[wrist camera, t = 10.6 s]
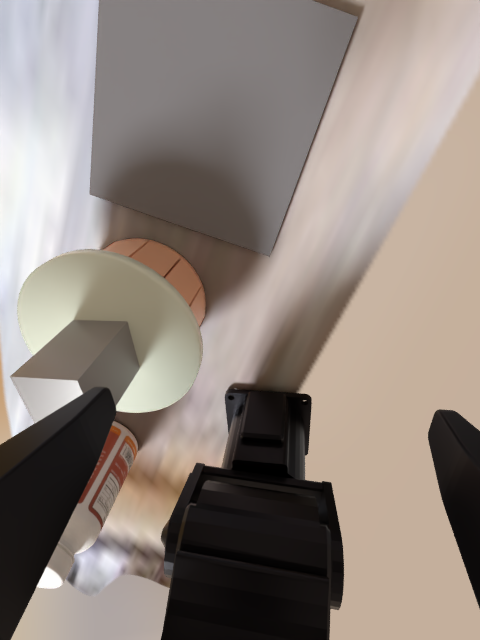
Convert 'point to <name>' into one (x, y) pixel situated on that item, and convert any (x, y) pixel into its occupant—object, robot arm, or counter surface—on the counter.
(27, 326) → the lid
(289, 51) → the mat
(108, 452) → the pill bottle
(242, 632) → the robot arm
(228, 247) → the counter surface
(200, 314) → the bowl
